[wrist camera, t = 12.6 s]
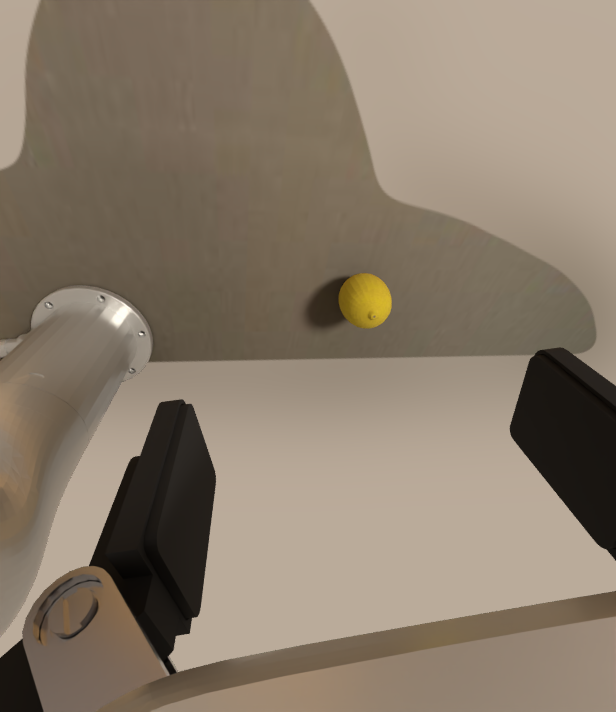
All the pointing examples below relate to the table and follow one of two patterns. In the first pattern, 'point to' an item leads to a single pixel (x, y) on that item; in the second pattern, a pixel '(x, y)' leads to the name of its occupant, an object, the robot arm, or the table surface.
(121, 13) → the table surface
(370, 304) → the lemon
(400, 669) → the robot arm
